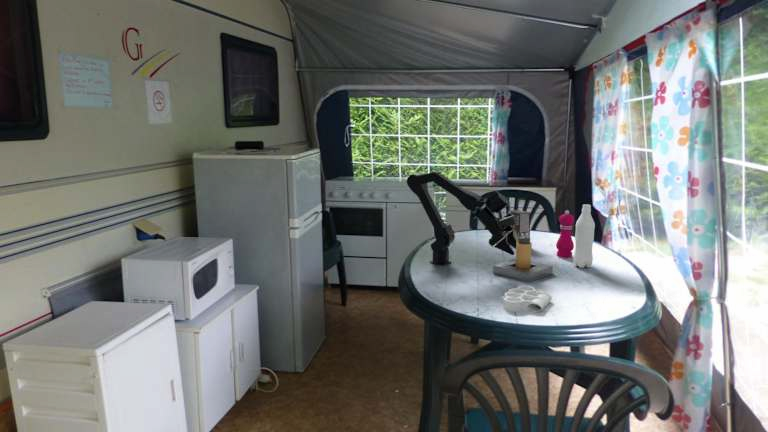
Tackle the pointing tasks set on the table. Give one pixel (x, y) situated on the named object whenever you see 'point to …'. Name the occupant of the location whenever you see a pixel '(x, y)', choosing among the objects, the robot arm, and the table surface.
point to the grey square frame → (522, 270)
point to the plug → (523, 252)
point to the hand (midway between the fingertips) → (516, 251)
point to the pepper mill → (565, 236)
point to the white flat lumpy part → (525, 299)
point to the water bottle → (584, 238)
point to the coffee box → (521, 223)
